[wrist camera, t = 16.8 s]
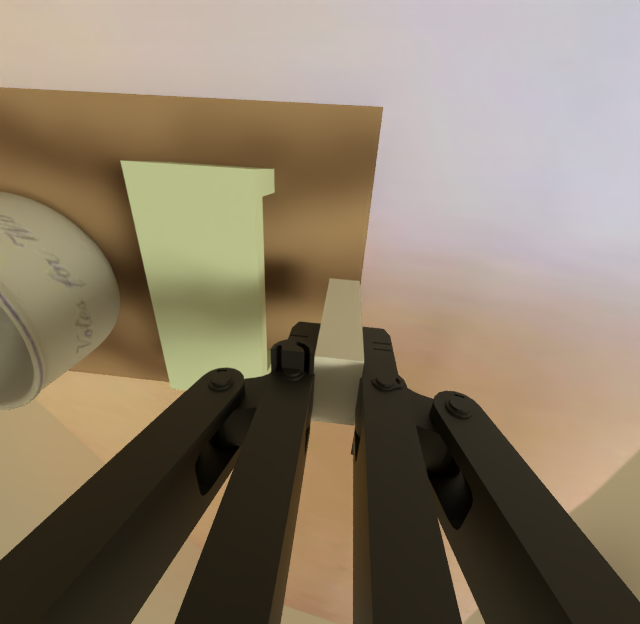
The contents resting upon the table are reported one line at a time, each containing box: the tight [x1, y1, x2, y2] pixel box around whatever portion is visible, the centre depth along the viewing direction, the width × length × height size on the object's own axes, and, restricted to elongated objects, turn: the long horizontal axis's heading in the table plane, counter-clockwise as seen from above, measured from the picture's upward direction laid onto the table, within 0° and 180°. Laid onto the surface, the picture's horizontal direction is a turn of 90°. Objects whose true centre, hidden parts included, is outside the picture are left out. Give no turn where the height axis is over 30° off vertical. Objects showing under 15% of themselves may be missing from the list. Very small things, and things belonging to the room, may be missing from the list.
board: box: [0, 88, 383, 382], centre depth 19 cm, size 19×28×3 cm
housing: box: [120, 160, 275, 390], centre depth 17 cm, size 13×6×4 cm, turn 177°
